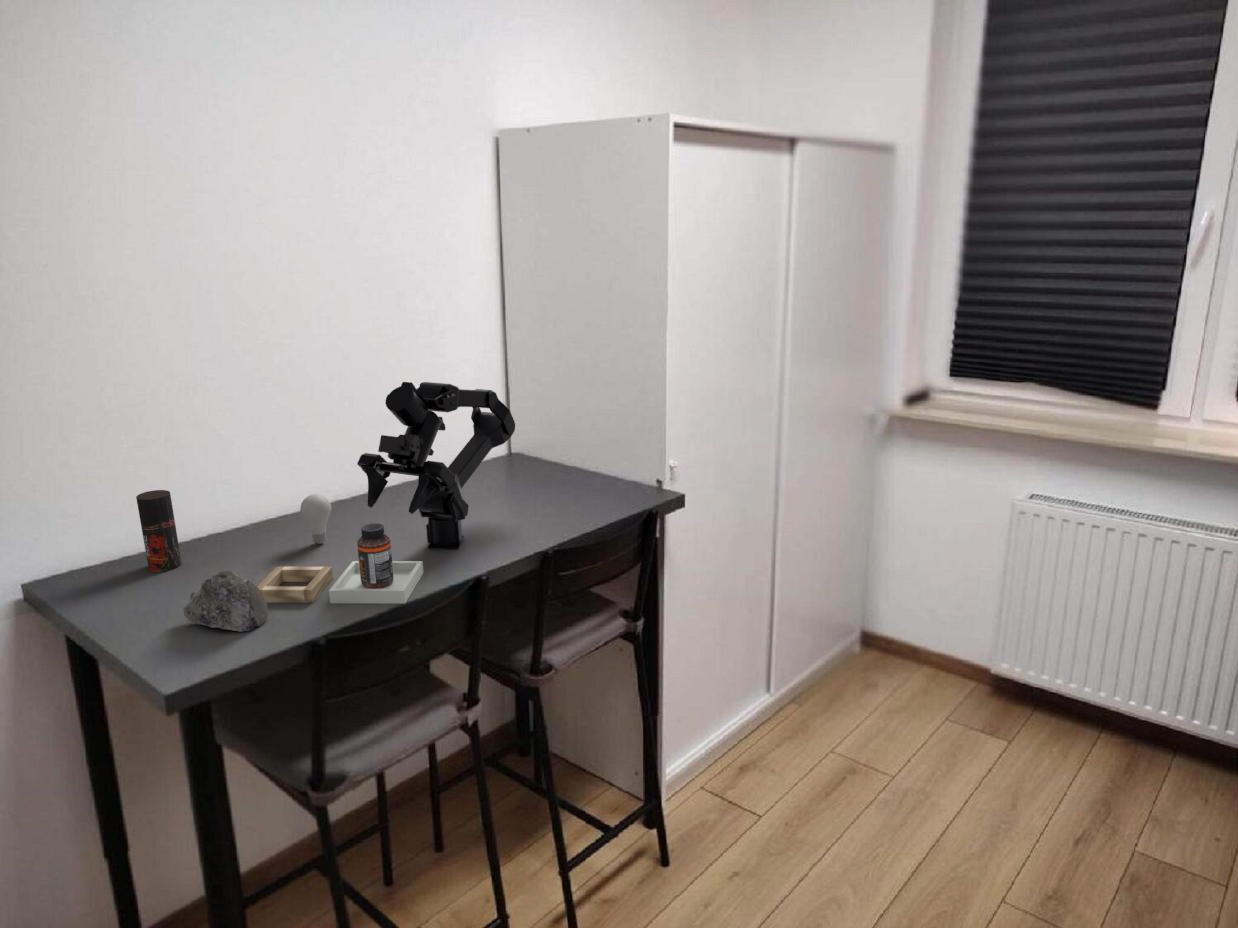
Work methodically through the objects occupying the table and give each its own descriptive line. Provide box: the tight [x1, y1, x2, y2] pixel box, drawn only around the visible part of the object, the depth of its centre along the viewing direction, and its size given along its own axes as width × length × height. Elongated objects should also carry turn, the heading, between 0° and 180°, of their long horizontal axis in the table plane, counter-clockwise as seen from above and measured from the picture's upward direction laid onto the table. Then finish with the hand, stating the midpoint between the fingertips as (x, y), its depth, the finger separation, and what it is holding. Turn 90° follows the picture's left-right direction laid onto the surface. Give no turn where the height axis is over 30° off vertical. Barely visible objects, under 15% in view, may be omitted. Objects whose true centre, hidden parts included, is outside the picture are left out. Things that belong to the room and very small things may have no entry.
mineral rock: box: [182, 569, 269, 633], centre depth 152 cm, size 13×11×10 cm
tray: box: [328, 560, 424, 605], centre depth 166 cm, size 14×14×2 cm
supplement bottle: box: [356, 522, 393, 588], centre depth 165 cm, size 6×6×11 cm
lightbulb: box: [300, 493, 332, 545], centre depth 187 cm, size 6×6×11 cm
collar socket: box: [256, 566, 334, 604], centre depth 166 cm, size 11×11×2 cm
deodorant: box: [135, 489, 182, 573], centre depth 176 cm, size 6×6×15 cm
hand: (389, 509), depth 168 cm, fingers open, 9 cm apart
